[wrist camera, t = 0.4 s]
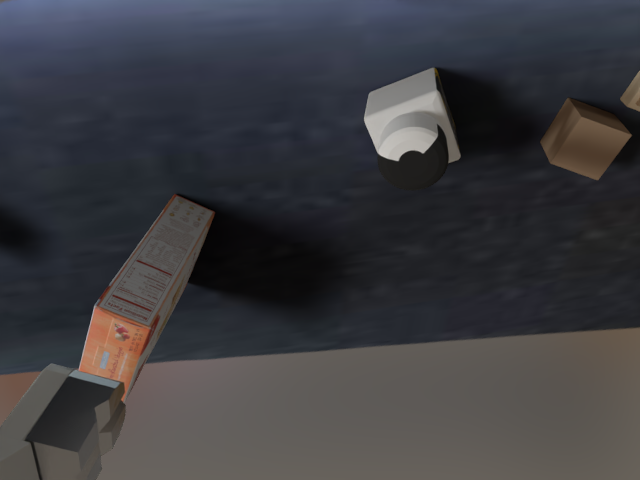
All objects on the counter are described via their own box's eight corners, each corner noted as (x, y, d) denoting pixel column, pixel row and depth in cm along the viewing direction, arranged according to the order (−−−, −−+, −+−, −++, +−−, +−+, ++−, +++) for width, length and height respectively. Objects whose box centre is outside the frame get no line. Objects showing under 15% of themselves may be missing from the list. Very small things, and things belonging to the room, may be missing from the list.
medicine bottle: (456, 129, 53) (466, 185, 44) (391, 151, 56) (387, 209, 46) (435, 65, 50) (441, 111, 40) (367, 92, 52) (357, 141, 43)
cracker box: (190, 284, 72) (123, 409, 55) (150, 266, 71) (69, 388, 54) (220, 211, 64) (151, 332, 47) (175, 191, 63) (89, 306, 46)
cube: (567, 97, 50) (581, 116, 46) (614, 114, 50) (631, 135, 46) (539, 141, 53) (550, 163, 49) (583, 157, 53) (597, 180, 49)
